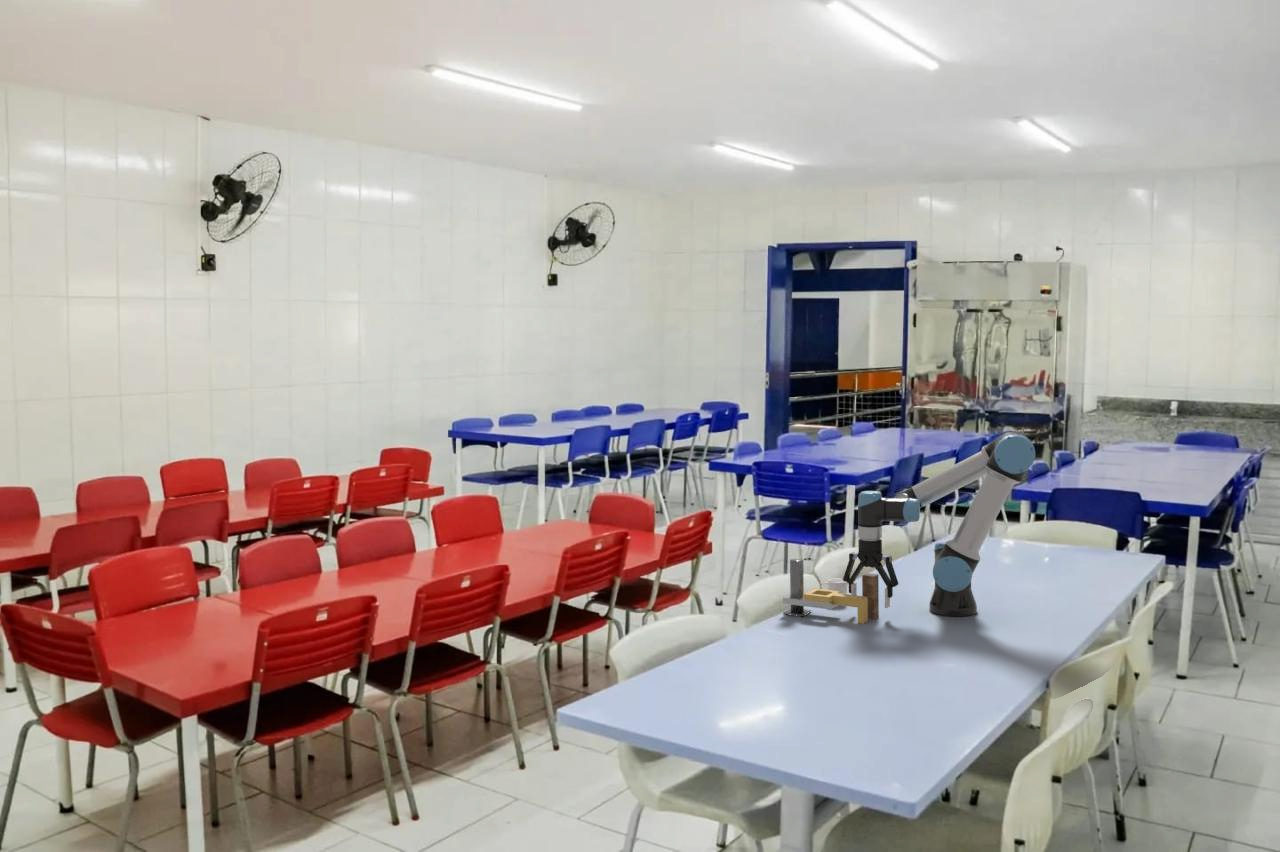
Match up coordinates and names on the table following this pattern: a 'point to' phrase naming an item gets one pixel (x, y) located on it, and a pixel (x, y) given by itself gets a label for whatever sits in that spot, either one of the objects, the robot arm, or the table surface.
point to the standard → (800, 592)
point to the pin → (871, 594)
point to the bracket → (840, 601)
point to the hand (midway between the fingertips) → (870, 605)
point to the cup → (837, 585)
